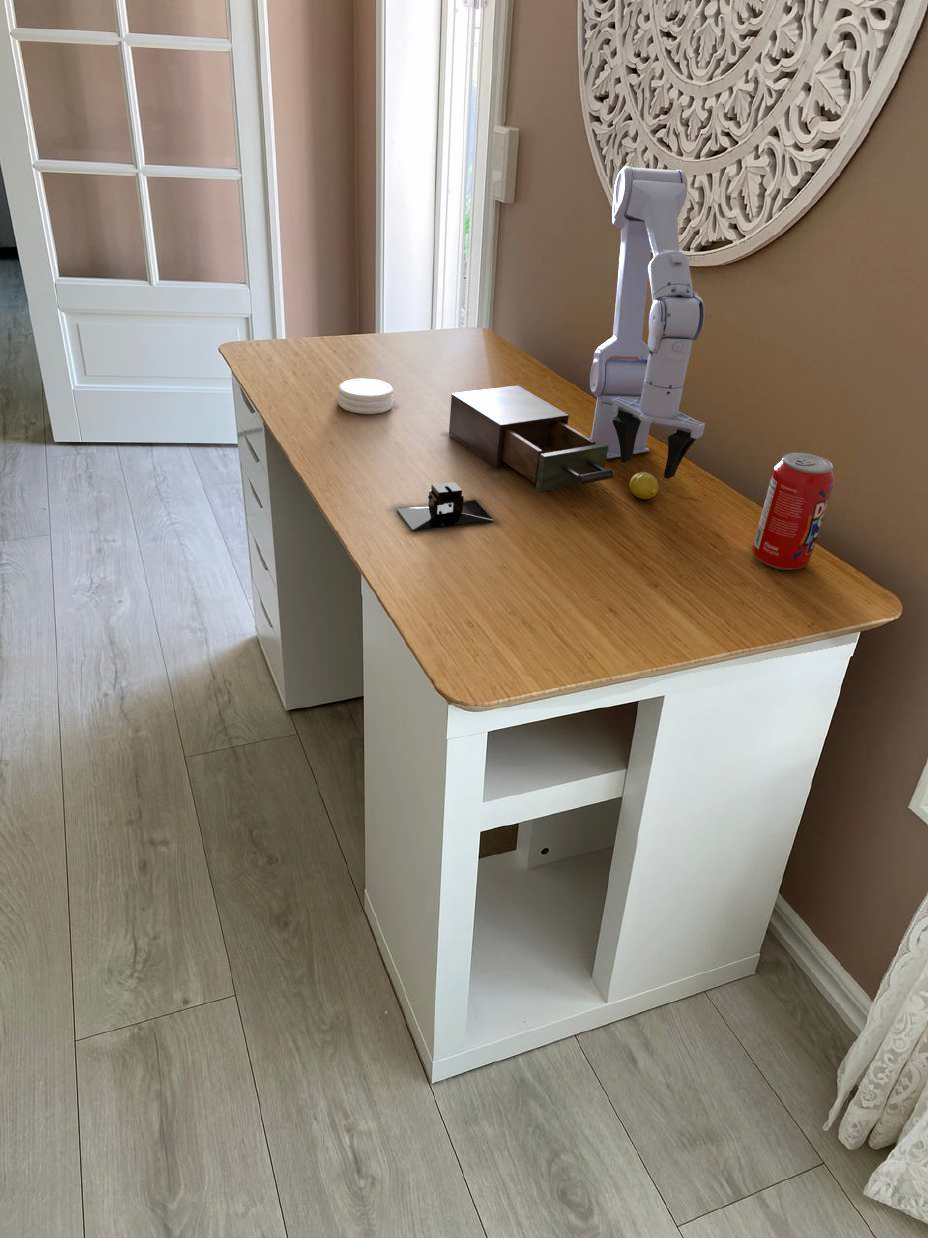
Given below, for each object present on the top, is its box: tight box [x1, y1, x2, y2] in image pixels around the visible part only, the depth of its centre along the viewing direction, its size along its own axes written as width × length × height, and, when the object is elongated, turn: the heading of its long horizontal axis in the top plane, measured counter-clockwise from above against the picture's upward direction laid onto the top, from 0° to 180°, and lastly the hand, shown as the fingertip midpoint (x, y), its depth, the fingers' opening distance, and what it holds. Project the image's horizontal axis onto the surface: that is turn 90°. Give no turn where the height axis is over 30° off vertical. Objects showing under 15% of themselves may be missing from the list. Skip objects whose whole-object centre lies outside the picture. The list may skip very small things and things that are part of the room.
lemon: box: [629, 471, 659, 501], centre depth 146 cm, size 6×4×4 cm
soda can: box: [752, 451, 835, 571], centre depth 128 cm, size 8×8×15 cm
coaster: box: [337, 378, 394, 415], centre depth 171 cm, size 10×10×4 cm
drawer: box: [500, 420, 615, 492], centre depth 148 cm, size 20×12×6 cm, turn 31°
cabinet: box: [448, 384, 570, 469], centre depth 159 cm, size 15×13×7 cm
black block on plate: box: [396, 481, 494, 533], centre depth 135 cm, size 12×7×5 cm, turn 112°
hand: (647, 468), depth 144 cm, fingers open, 7 cm apart
